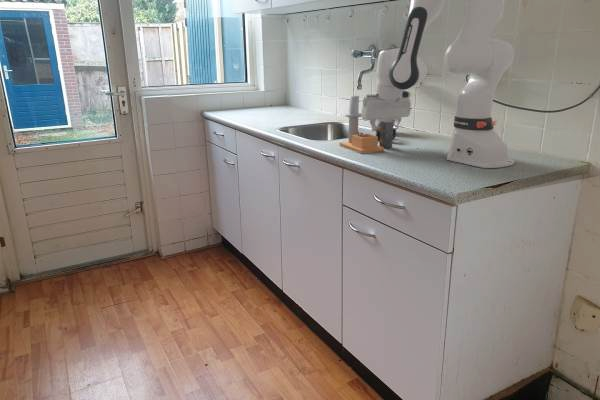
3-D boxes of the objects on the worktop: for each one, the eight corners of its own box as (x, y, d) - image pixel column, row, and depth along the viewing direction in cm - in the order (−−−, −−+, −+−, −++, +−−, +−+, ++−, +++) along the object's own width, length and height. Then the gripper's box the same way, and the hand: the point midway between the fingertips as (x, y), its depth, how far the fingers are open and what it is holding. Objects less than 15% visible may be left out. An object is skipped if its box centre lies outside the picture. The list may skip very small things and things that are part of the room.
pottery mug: (367, 141, 188) (372, 123, 189) (384, 149, 192) (389, 131, 193) (384, 138, 178) (390, 119, 179) (402, 147, 182) (407, 128, 183)
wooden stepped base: (383, 150, 168) (386, 98, 162) (360, 153, 164) (362, 100, 158) (359, 142, 183) (361, 94, 177) (338, 145, 179) (338, 96, 173)
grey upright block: (392, 148, 173) (393, 122, 169) (384, 148, 171) (385, 122, 168) (386, 146, 176) (388, 120, 172) (379, 147, 174) (380, 121, 171)
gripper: (368, 95, 160) (366, 133, 165) (414, 92, 168) (411, 129, 173) (358, 93, 166) (357, 130, 170) (404, 91, 173) (401, 126, 178)
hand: (384, 130), depth 172 cm, fingers open, 8 cm apart
